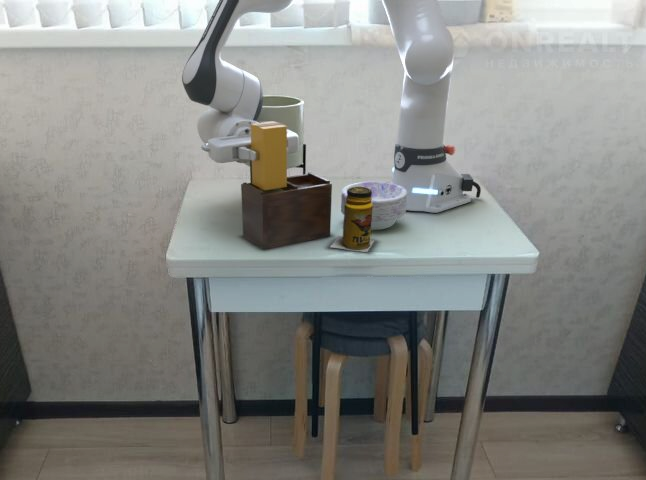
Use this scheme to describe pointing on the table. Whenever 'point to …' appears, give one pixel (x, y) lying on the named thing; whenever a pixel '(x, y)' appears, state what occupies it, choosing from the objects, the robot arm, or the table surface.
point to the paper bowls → (382, 202)
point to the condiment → (356, 221)
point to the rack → (287, 211)
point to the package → (269, 155)
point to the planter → (286, 124)
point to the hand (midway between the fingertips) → (271, 154)
